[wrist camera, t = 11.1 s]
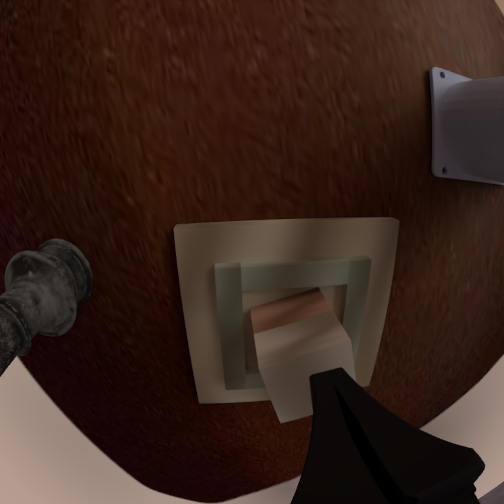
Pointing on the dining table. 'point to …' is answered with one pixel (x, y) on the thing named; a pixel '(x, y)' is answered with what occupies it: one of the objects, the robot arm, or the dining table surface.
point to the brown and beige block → (298, 348)
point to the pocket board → (278, 290)
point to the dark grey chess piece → (41, 296)
